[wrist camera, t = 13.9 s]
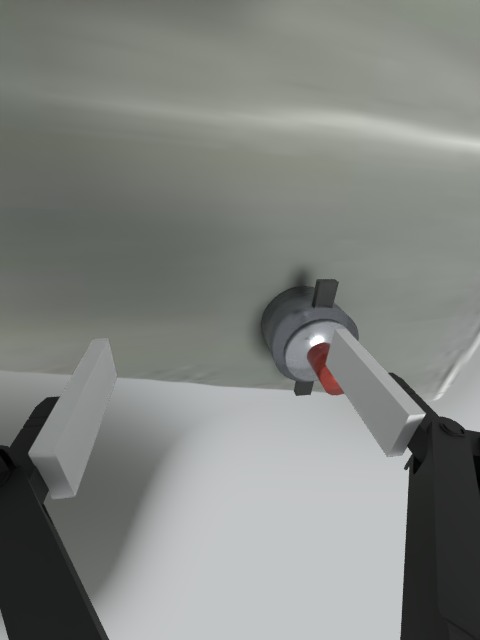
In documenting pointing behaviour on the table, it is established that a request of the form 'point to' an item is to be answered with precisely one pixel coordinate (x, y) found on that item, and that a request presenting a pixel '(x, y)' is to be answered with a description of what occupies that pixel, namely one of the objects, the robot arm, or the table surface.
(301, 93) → the table surface
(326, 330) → the lid
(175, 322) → the table surface
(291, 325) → the pot
